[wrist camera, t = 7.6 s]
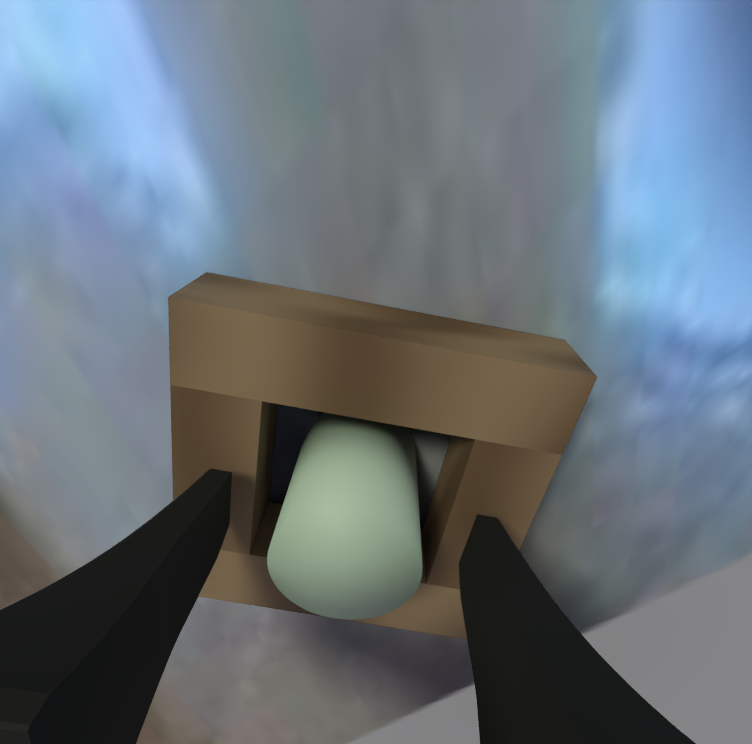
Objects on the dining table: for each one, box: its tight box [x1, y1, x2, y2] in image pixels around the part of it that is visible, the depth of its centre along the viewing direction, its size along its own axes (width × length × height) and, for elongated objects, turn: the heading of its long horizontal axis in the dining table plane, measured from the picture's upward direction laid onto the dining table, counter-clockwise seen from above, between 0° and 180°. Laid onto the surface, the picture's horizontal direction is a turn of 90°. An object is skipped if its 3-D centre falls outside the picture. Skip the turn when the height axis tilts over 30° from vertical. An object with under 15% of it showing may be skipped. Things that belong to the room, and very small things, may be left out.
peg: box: [267, 412, 423, 620], centre depth 14 cm, size 4×4×5 cm
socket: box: [168, 272, 597, 639], centre depth 15 cm, size 11×11×2 cm
